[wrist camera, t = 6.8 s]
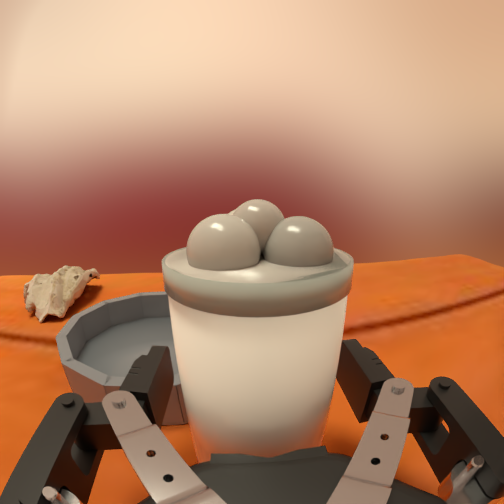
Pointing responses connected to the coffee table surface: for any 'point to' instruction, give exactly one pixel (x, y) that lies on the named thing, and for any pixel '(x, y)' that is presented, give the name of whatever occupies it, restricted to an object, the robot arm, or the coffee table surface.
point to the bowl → (118, 347)
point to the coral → (56, 291)
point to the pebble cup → (257, 329)
